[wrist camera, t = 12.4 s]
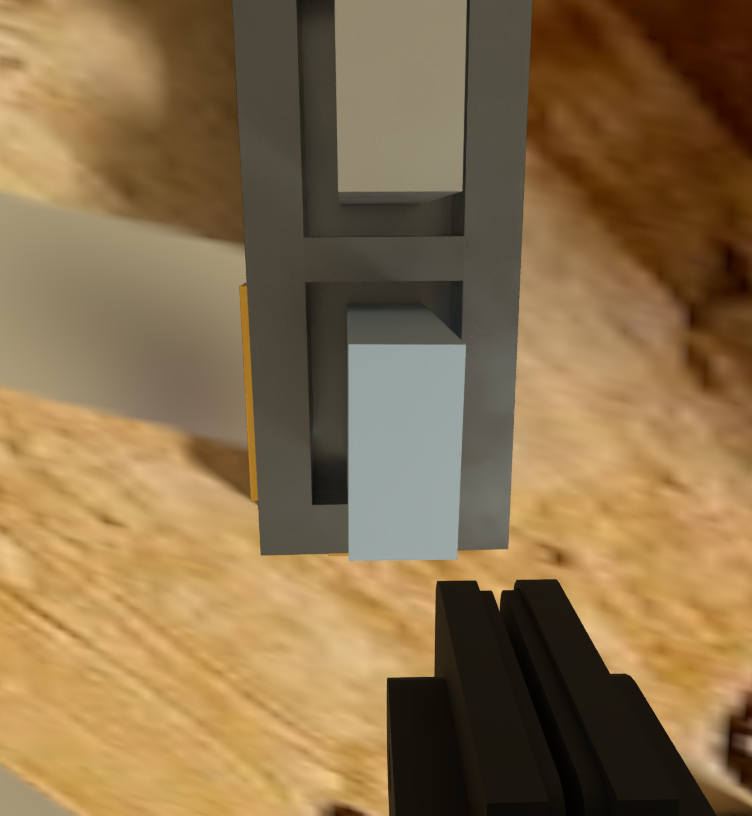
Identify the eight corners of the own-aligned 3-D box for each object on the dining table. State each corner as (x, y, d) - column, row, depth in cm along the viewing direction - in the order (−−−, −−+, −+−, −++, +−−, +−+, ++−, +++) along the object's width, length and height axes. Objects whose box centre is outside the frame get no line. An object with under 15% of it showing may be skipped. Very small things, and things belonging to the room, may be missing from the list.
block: (423, 303, 28) (466, 344, 18) (419, 449, 29) (456, 559, 19) (346, 303, 27) (348, 344, 18) (346, 449, 29) (348, 560, 19)
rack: (507, -56, 25) (625, -260, 15) (487, 515, 31) (562, 665, 20) (235, -59, 25) (156, -270, 14) (264, 520, 31) (222, 676, 20)
